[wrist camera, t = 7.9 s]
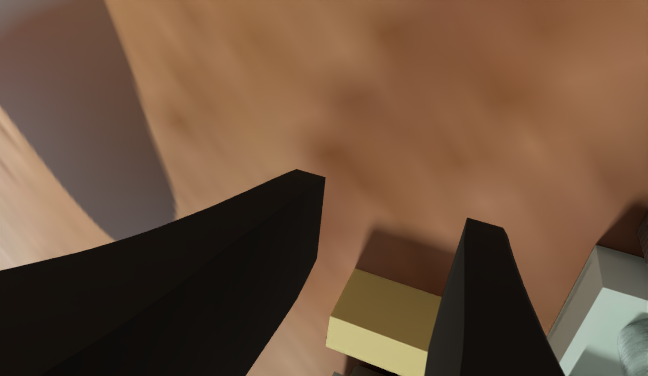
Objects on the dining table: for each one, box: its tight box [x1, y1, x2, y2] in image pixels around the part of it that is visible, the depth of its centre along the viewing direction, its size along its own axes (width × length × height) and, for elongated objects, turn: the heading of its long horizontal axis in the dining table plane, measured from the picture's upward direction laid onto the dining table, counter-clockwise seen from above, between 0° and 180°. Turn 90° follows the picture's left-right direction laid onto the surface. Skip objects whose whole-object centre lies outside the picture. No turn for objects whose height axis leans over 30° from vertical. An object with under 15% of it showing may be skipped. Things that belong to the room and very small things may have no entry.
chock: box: [326, 268, 442, 376], centre depth 22 cm, size 5×4×4 cm
